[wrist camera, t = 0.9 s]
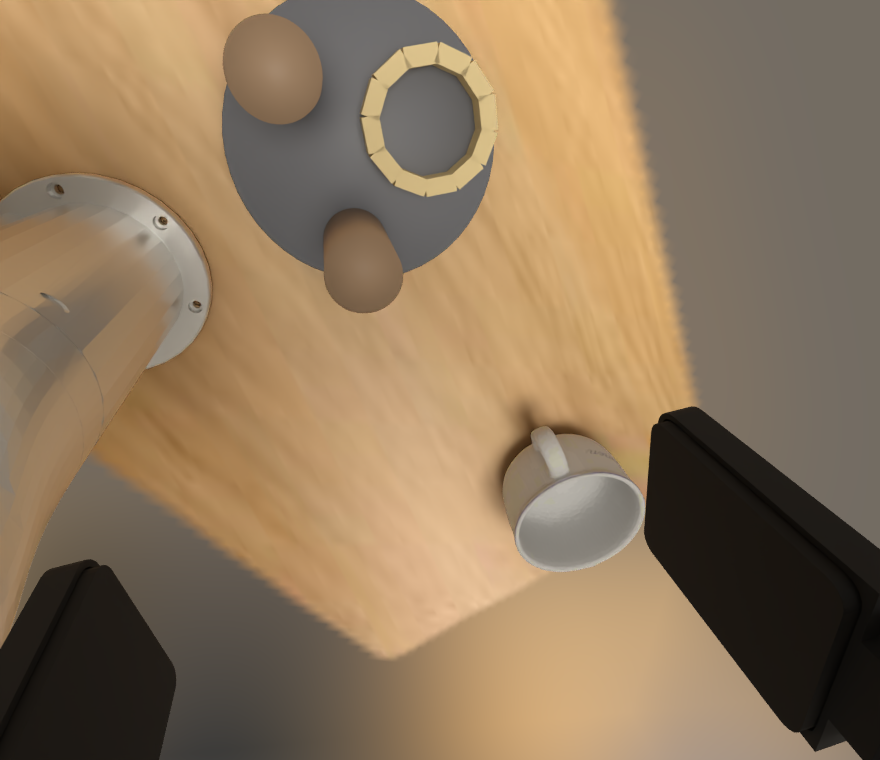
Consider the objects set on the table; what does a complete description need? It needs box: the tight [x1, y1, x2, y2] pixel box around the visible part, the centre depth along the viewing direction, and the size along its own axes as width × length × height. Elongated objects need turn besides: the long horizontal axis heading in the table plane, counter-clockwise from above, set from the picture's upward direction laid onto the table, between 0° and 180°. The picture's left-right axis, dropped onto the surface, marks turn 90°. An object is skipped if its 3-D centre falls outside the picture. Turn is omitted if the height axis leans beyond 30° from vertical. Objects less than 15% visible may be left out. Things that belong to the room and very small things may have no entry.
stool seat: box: [222, 0, 498, 313], centre depth 29 cm, size 16×16×10 cm
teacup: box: [503, 426, 645, 572], centre depth 44 cm, size 14×11×8 cm
